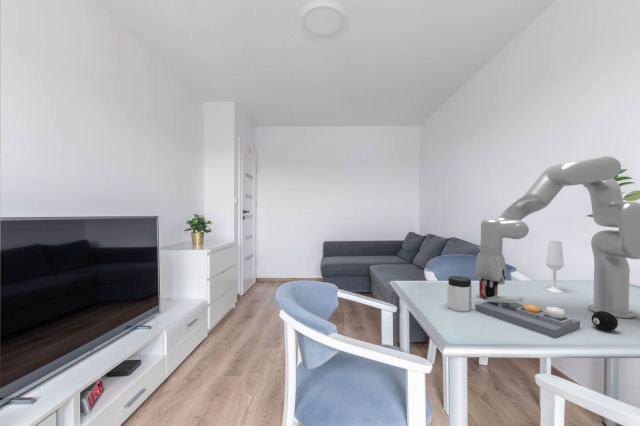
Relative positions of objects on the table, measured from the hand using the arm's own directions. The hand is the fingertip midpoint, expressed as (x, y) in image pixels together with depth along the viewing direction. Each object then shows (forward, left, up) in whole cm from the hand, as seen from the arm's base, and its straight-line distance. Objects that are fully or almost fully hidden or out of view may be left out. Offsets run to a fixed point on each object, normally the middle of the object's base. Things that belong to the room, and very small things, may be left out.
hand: (489, 296), depth 114 cm
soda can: (-12, -8, -5) cm, 16 cm away
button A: (0, +22, 0) cm, 22 cm away
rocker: (0, +6, 0) cm, 6 cm away
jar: (+11, -5, -5) cm, 13 cm away
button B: (0, +15, -2) cm, 15 cm away
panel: (0, +12, -5) cm, 13 cm away
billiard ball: (-14, +30, -5) cm, 33 cm away
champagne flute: (-52, -2, -5) cm, 52 cm away
